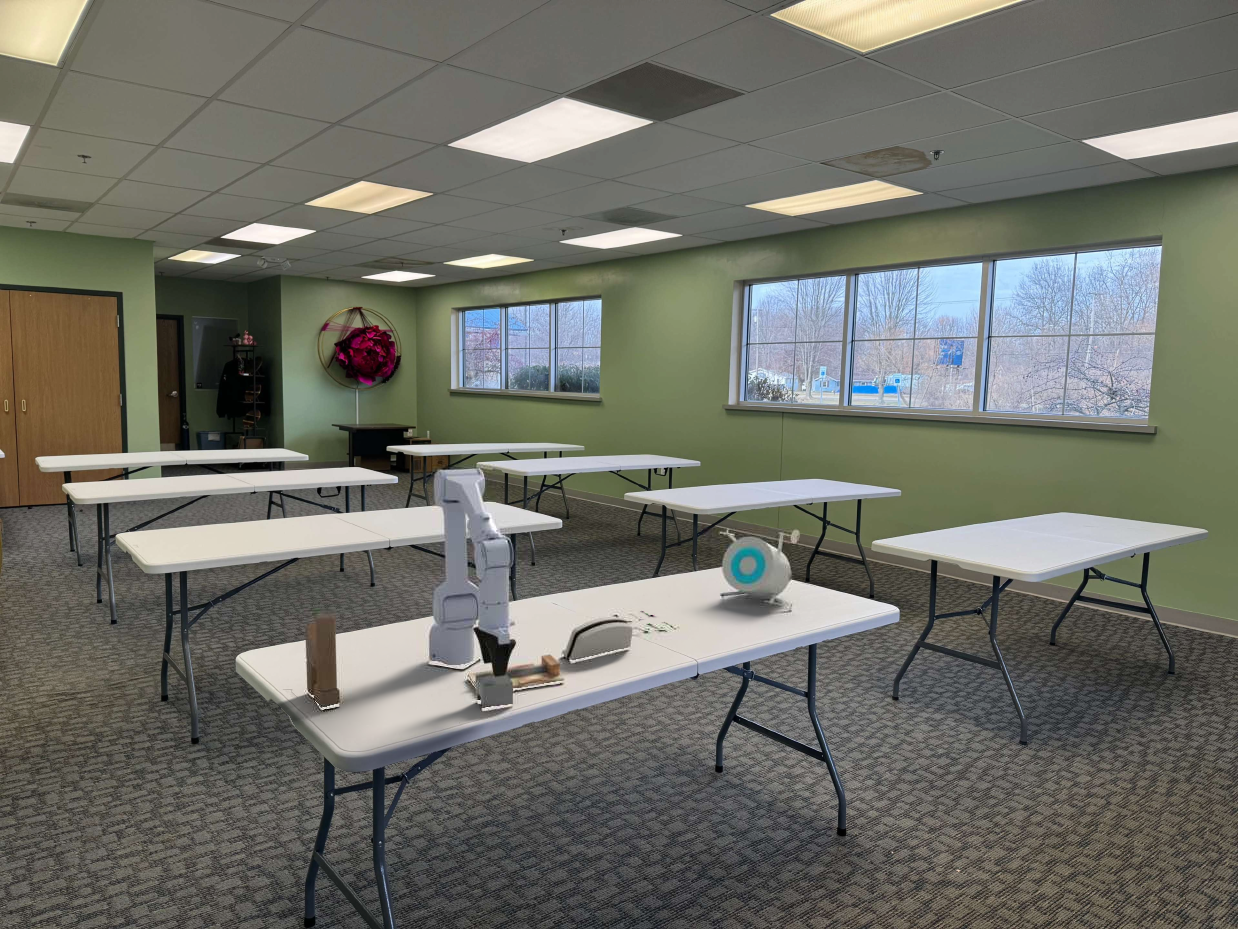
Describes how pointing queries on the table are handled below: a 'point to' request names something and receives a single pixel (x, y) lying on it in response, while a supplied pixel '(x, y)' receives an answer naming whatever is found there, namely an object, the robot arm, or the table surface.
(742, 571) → the satellite
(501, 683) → the clip
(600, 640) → the grey rounded block
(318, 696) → the wooden block
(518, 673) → the rail
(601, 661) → the table surface
